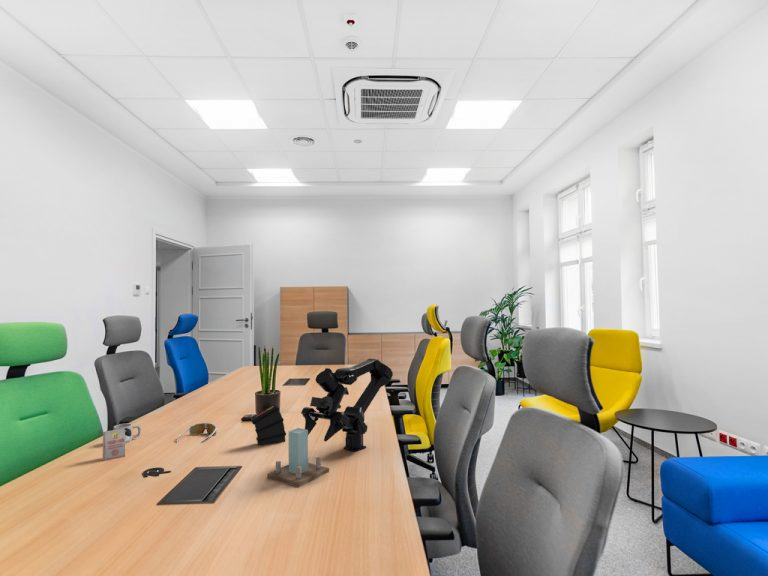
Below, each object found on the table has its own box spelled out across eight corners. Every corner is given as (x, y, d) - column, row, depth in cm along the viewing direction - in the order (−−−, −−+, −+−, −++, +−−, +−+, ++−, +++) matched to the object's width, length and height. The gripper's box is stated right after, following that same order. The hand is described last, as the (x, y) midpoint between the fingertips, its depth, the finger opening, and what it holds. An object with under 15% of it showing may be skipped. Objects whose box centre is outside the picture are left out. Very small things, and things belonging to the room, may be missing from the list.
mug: (114, 445, 173) (115, 428, 173) (112, 441, 178) (112, 425, 178) (142, 440, 179) (142, 424, 180) (139, 436, 184) (139, 421, 185)
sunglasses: (222, 433, 188) (221, 422, 187) (205, 449, 173) (204, 437, 173) (191, 432, 189) (191, 422, 189) (172, 448, 174) (171, 437, 174)
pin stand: (298, 463, 148) (298, 450, 149) (328, 471, 141) (328, 457, 141) (267, 477, 137) (267, 462, 137) (299, 486, 129) (299, 471, 129)
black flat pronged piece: (174, 471, 144) (174, 469, 144) (156, 480, 137) (156, 478, 137) (153, 468, 147) (153, 466, 147) (134, 477, 140) (134, 474, 140)
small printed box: (102, 458, 158) (103, 430, 158) (123, 454, 162) (124, 427, 162) (103, 460, 155) (103, 433, 155) (125, 456, 159) (125, 429, 159)
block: (298, 467, 142) (298, 428, 142) (308, 470, 139) (307, 429, 140) (288, 471, 138) (288, 431, 139) (298, 474, 136) (298, 433, 136)
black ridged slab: (293, 436, 175) (277, 404, 173) (263, 455, 170) (246, 422, 168) (291, 434, 178) (275, 403, 176) (262, 452, 173) (245, 420, 171)
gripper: (303, 385, 156) (282, 424, 146) (342, 389, 145) (323, 431, 136) (318, 401, 162) (299, 439, 153) (357, 406, 152) (340, 447, 143)
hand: (314, 439), depth 146 cm, fingers open, 9 cm apart
